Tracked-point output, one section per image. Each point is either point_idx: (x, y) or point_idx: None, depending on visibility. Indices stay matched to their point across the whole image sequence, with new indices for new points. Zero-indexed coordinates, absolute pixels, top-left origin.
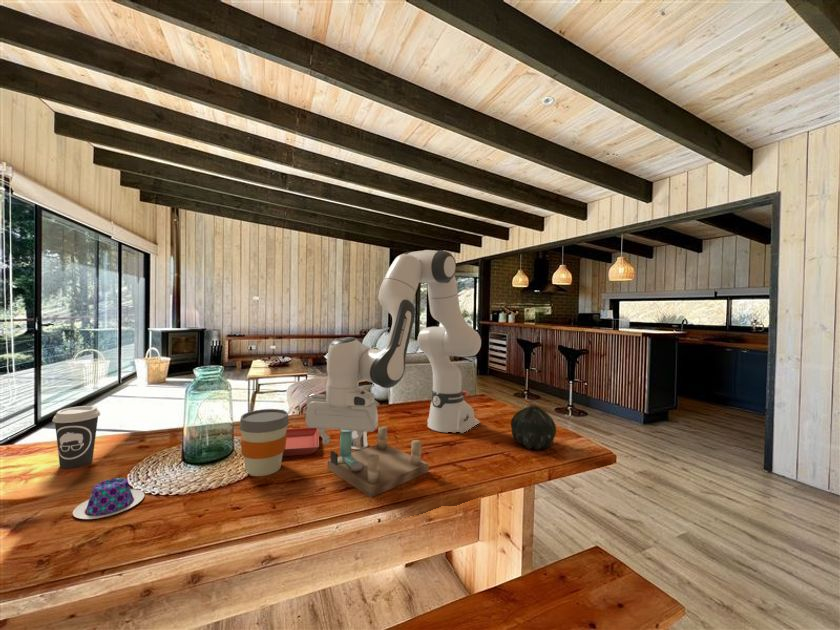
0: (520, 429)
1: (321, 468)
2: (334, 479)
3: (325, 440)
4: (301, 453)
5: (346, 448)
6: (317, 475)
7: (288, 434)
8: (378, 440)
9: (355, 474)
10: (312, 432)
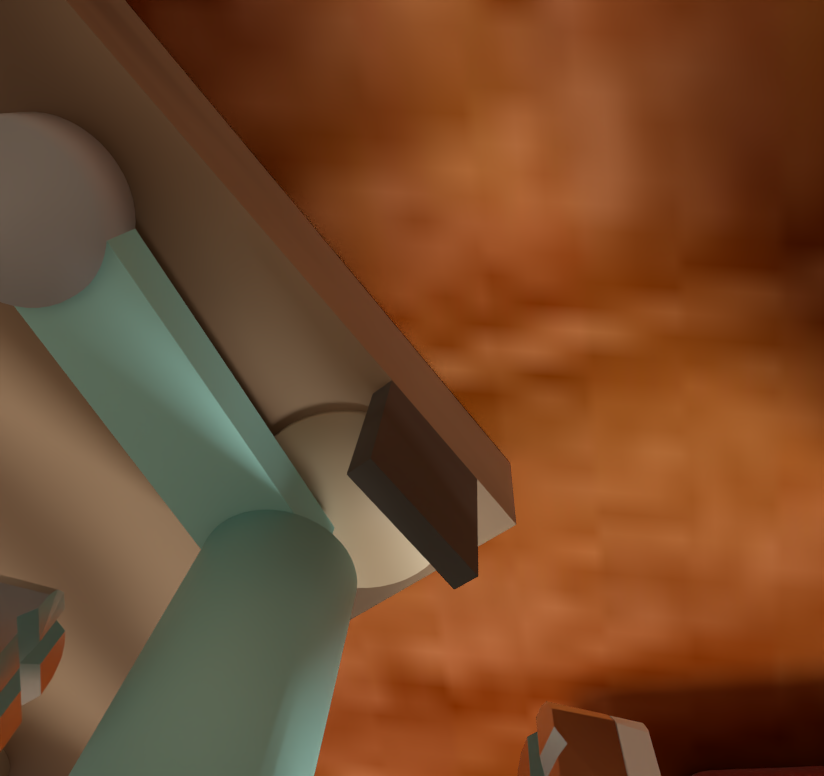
0: None
1: (580, 484)
2: (401, 212)
3: (600, 769)
4: (811, 773)
5: (213, 591)
6: (616, 327)
7: None
8: None
9: (51, 65)
10: None
